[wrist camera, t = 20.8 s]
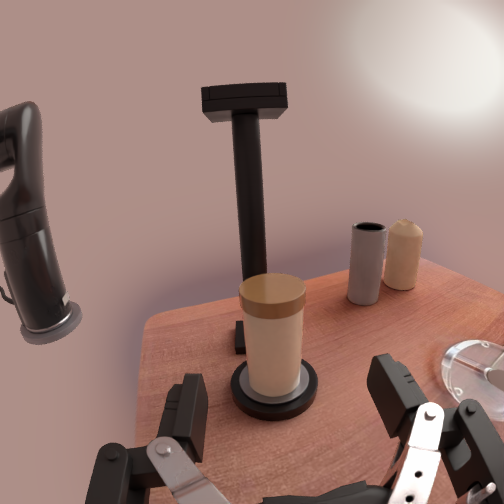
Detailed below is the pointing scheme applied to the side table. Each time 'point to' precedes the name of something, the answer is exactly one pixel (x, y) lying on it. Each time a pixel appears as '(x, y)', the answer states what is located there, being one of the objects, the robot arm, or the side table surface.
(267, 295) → the spice jar
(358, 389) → the side table surface
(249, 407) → the plate
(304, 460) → the side table surface
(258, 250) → the stand
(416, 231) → the candle
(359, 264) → the planter
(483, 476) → the robot arm
